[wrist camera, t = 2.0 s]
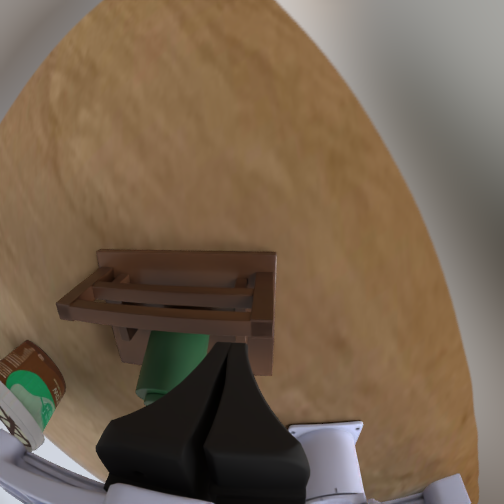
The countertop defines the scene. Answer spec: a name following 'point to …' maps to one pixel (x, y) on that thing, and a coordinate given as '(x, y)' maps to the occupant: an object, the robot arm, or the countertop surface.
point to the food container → (29, 393)
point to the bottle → (169, 362)
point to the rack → (181, 299)
